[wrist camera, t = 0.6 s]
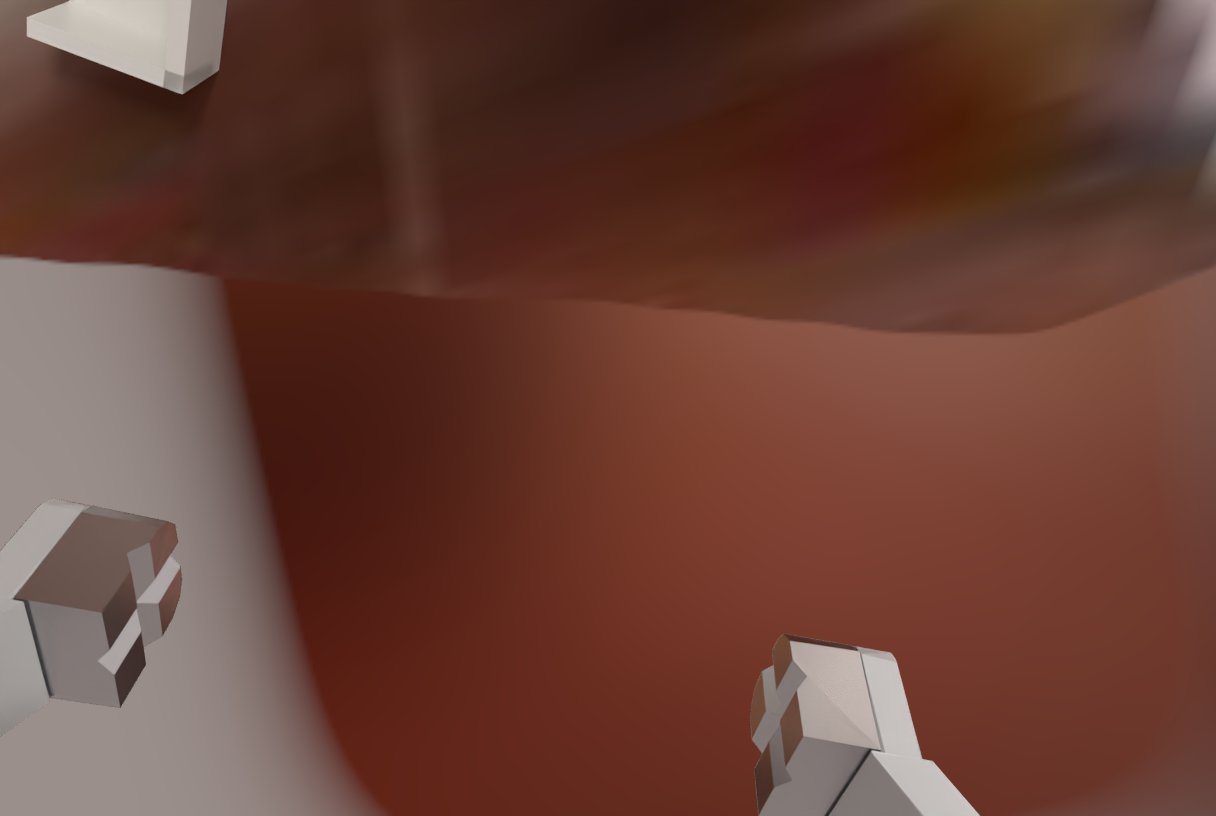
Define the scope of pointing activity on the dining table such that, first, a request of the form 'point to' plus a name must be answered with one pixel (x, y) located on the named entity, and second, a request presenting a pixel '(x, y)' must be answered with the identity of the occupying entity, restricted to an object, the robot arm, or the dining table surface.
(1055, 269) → the dining table surface
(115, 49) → the endcap
